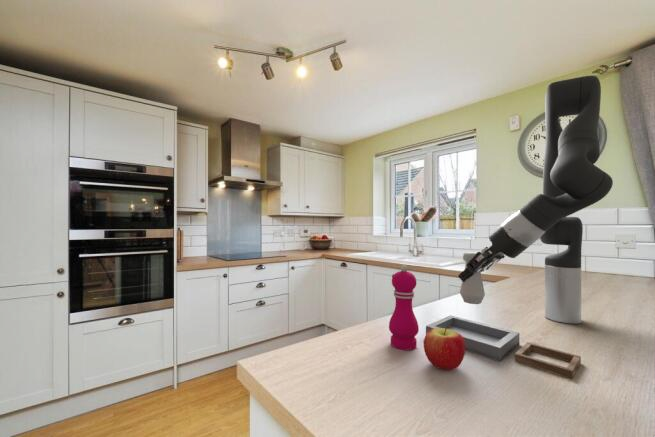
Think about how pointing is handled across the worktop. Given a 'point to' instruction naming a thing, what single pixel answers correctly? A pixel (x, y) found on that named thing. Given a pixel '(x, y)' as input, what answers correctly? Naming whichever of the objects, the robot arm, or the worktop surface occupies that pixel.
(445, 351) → the apple
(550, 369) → the wooden square frame
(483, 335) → the tray
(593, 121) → the robot arm
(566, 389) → the worktop surface
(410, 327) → the pepper mill
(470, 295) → the salt shaker
